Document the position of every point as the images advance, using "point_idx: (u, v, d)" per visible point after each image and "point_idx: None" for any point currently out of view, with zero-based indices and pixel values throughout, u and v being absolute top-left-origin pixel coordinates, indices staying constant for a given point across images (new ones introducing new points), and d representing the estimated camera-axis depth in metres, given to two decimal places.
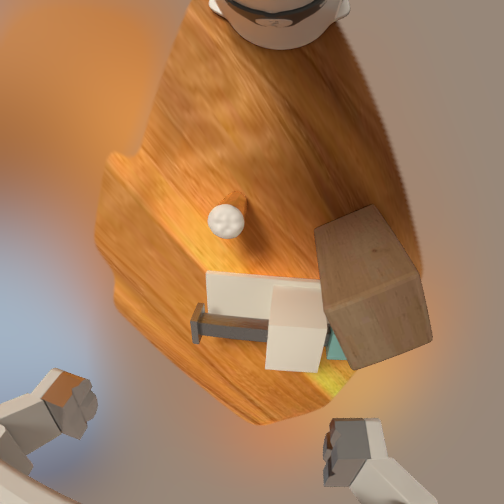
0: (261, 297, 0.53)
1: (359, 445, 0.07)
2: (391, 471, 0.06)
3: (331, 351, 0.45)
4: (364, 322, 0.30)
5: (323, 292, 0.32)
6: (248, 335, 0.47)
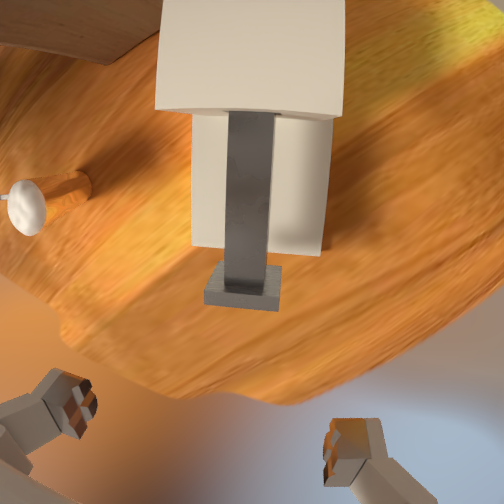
0: None
1: (359, 445, 0.07)
2: (391, 471, 0.06)
3: None
4: None
5: None
6: (251, 163, 0.17)
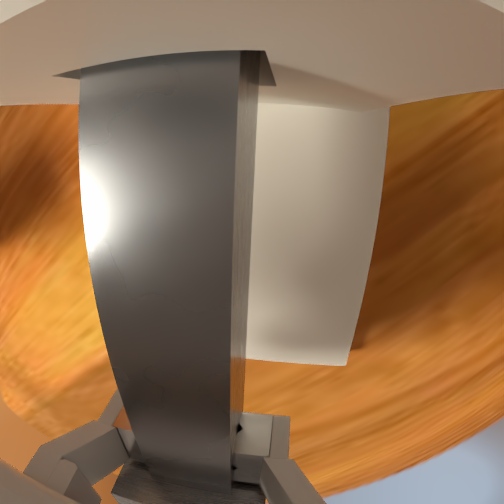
0: None
1: (259, 441, 0.07)
2: (287, 473, 0.06)
3: None
4: None
5: None
6: (161, 259, 0.05)
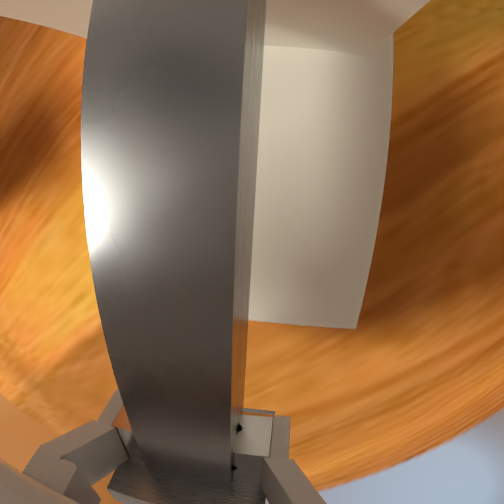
0: None
1: (259, 441, 0.07)
2: (287, 473, 0.06)
3: None
4: None
5: None
6: (161, 239, 0.05)
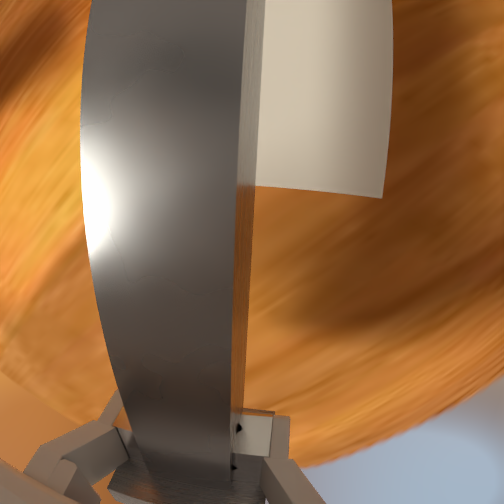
0: None
1: (259, 441, 0.07)
2: (286, 474, 0.06)
3: None
4: None
5: None
6: (160, 239, 0.05)
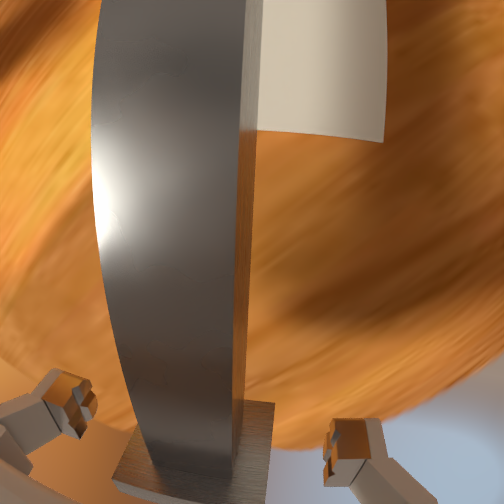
0: None
1: (359, 445, 0.07)
2: (391, 471, 0.06)
3: None
4: None
5: None
6: (167, 230, 0.05)
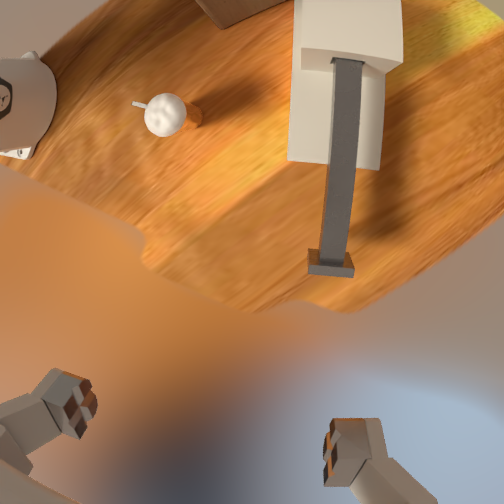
0: (322, 85, 0.32)
1: (359, 445, 0.07)
2: (391, 471, 0.06)
3: None
4: None
5: None
6: (342, 188, 0.29)
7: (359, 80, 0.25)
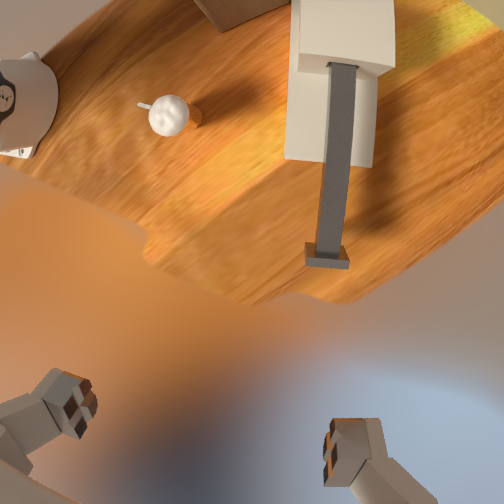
0: (318, 87, 0.34)
1: (359, 445, 0.07)
2: (391, 471, 0.06)
3: None
4: None
5: None
6: (337, 185, 0.31)
7: (353, 83, 0.27)
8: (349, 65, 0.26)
